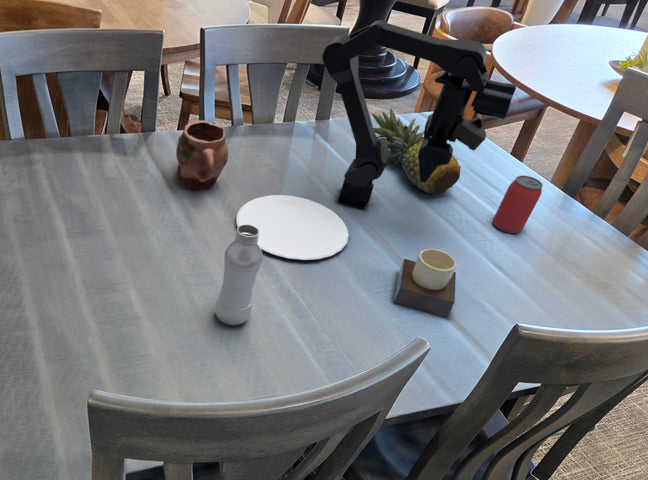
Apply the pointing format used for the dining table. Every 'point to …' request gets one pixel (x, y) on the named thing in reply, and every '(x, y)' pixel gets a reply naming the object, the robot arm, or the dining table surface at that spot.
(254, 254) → the plastic bottle
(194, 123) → the decorative planter
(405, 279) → the riser
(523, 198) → the beer can
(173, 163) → the dining table surface
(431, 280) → the bowl
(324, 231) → the plate
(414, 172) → the fruit
